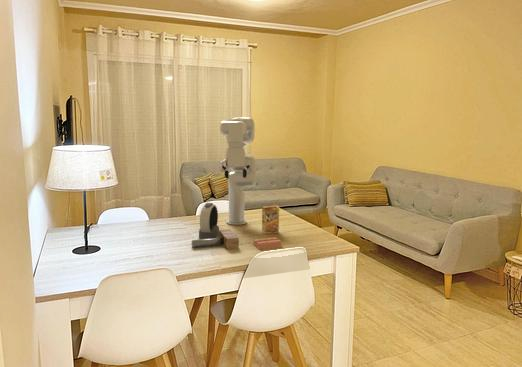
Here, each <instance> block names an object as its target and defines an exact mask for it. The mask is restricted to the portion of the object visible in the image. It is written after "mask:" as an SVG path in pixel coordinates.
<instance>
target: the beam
mask: <svg viewBox="0 0 522 367" xmlns="http://www.w3.org/2000/svg"><path fill="white" fill-rule="evenodd" d="M221 237H224V245H223V247H224V248H225V249H226V250H237V249H239V245H240V244H239V242H240V240H239V238H240V237H239V236H237V234H235V233H234V232H233V231H232V230H231V229H230V228H224V229H223V228H222V229H219V236H218V238H221Z"/></svg>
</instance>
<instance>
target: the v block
mask: <svg viewBox="0 0 522 367" xmlns="http://www.w3.org/2000/svg"><path fill="white" fill-rule="evenodd" d="M281 242H282V241H281V240H280V239H278V237H275V236H274V237H267V238H265V237H264V238H256V239H253V244H252V245H254V247H256V249H257V250H258V251H262V250H263V251H264V250H270V249H278V248H279V249H280V248H282V243H281Z"/></svg>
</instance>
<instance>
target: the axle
mask: <svg viewBox="0 0 522 367" xmlns="http://www.w3.org/2000/svg"><path fill="white" fill-rule="evenodd" d="M218 246H220V247H221V246H224V237H221V238H219V237H217V238H211V239H192V240H191V248H192V249H198V248H208V247H218Z"/></svg>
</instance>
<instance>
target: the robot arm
mask: <svg viewBox="0 0 522 367" xmlns="http://www.w3.org/2000/svg"><path fill="white" fill-rule="evenodd" d="M255 126H256V124H255V122H254V119H253V118H252V117H250V116H249V117H247V116H246V117H243V116H242V117H238V116H236V117H233V118H231V119H230V118H229V119H224V120H222V121H221V123H220V127H219V129H220V134H221V135H223V136H226V142H227V146H228V147H226V152H225V159H224V160H221V161H220V162H219V165H220V167H221V168H222V170H224V178H225V179H227V185H228V218H227V219H226V221H225V223H226V224H228V225H231V226H240V225H245V224H247V222H248V220H247V219H245V193H244V191H243V189H241V188H254V187H256V185H257V162H256V158H255V157H253V156H248V155H247V156H246V152H245V148H244V147H245V146H246V144H247V143H252V142H254V140H255V130H256V128H255ZM224 164H225V165H224ZM229 169H230V170H231V171H229Z"/></svg>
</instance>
